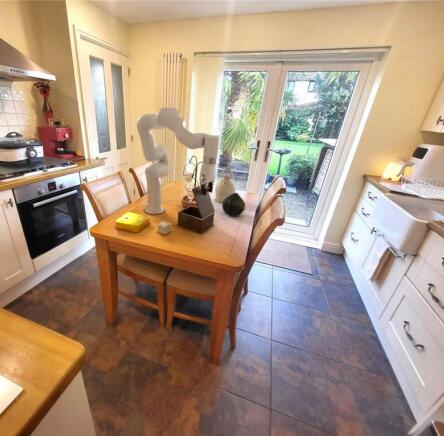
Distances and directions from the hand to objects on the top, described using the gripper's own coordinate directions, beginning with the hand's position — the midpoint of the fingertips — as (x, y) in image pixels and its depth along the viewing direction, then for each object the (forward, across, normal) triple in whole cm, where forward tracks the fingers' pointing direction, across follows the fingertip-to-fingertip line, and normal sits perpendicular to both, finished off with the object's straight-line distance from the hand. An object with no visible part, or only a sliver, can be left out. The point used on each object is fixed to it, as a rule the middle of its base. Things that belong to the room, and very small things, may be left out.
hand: (206, 193), depth 128 cm
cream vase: (+22, -51, -13) cm, 57 cm away
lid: (+5, 0, -2) cm, 5 cm away
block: (+22, +18, -14) cm, 32 cm away
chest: (+22, 0, -6) cm, 23 cm away
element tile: (+23, +24, -34) cm, 47 cm away
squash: (+22, -32, +4) cm, 39 cm away
